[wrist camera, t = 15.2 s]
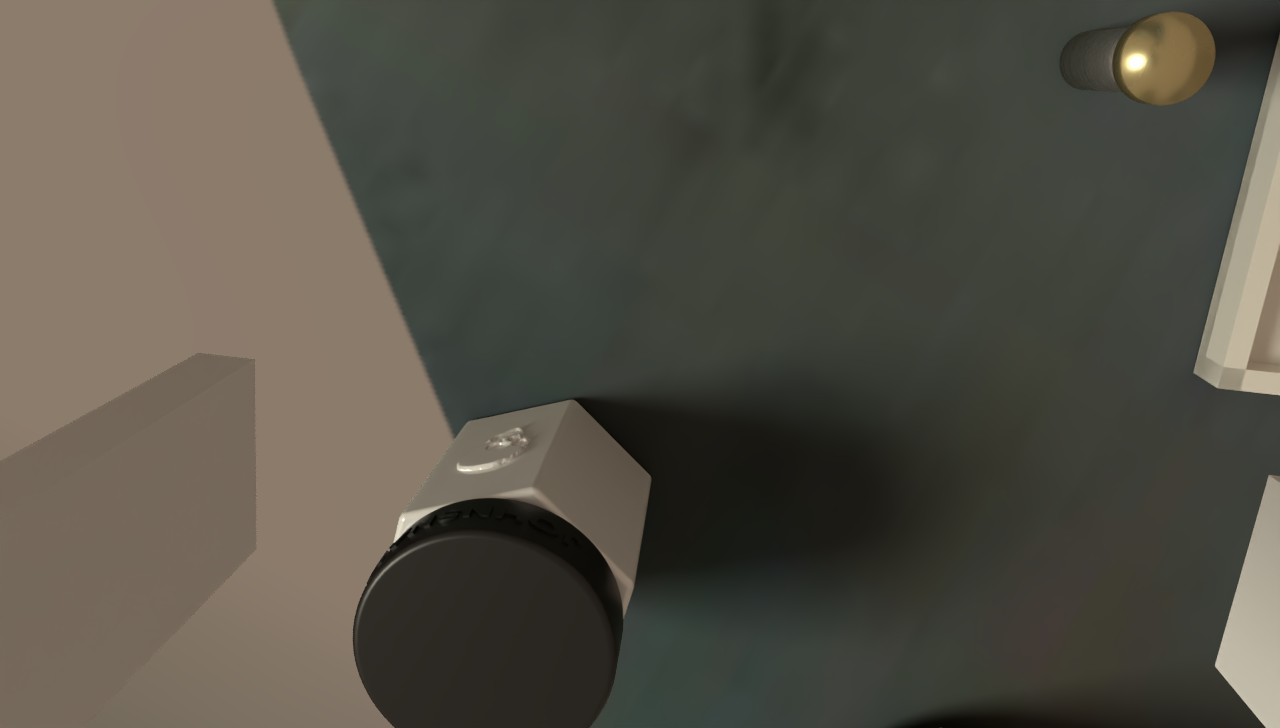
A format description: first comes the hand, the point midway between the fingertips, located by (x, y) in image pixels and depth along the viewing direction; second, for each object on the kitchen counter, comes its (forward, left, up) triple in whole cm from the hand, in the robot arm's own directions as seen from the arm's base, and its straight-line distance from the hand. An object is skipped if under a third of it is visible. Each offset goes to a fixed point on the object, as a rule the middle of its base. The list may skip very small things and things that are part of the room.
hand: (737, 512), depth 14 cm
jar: (+12, -6, -27) cm, 30 cm away
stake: (-7, +12, -27) cm, 30 cm away
